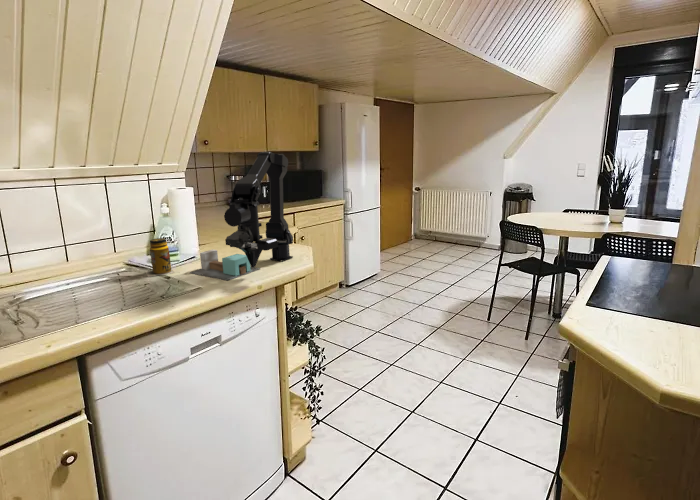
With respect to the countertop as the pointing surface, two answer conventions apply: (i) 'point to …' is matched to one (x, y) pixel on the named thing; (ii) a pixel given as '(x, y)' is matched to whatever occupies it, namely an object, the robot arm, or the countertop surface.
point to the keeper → (235, 264)
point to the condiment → (159, 257)
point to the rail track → (217, 267)
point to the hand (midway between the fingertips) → (253, 267)
